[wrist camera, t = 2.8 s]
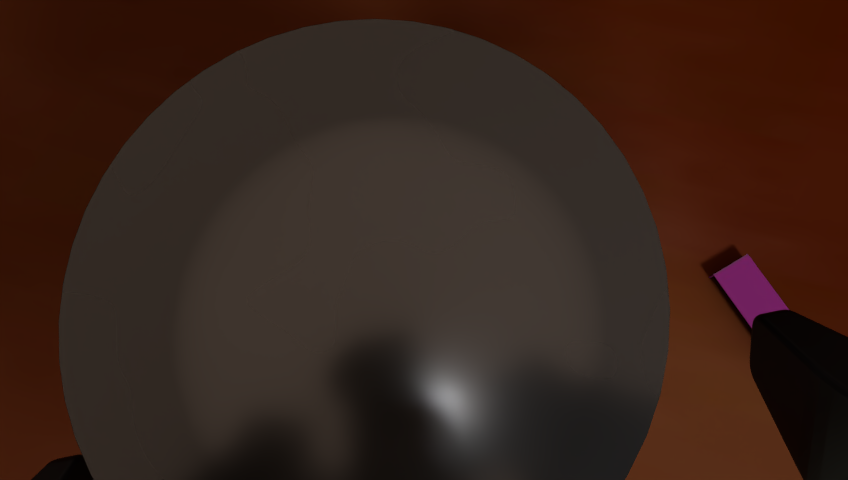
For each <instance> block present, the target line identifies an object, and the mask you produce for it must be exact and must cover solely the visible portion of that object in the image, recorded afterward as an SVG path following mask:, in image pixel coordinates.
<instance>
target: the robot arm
mask: <svg viewBox="0 0 848 480" xmlns="http://www.w3.org/2000/svg"><path fill="white" fill-rule="evenodd" d="M750 369H751V373H752V376H753V379H754V381H755V383H756V385H757V387H758V389H759V391H760V393H761V395H762V397H763V399H764V401H765V403H766V405H767V407H768V409H769V411H770V413H771V415H772V418H773V420H774V422H775V424H776V426H777V428H778V430H779V432H780V434H781V436H782V438H783V440H784V442H785V444H786V446H787V448H788V450H789V452H790V454H791V456H792V458H793V460H794V462H795V464H796V466H797V468H798V470H799V472H800V474H801V476H802V478H803V480H848V337H846V336H844V335H842V334H840V333H838V332H836V331H834V330H832V329H829V328H827V327H825V326H823V325H821V324H819V323H817V322H815V321H813V320H810V319H808V318H806V317H804V316H802V315H800V314H798V313H796V312H793V311H791V310H778V311H773V312H768V313H763V314H759V315H757V316H756V317H755V318H754V320H753V324H752V334H751V349H750ZM31 480H94V479H93V477H92V476H91V474H90V471H89V469H88V467H87V464H86V462H85V460H84V457H83V455H73V456H69V457H64V458H59V459H56V460H53V461H51V462H49V463H48V464H47V465H46V466H45V467H44V468H43V469H42V470H41V471H40V472H39V473H38V474H37V475H36V476H35V477H33V478H32V479H31Z"/></svg>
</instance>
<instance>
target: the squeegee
mask: <svg viewBox="0 0 848 480" xmlns="http://www.w3.org/2000/svg"><path fill="white" fill-rule="evenodd" d="M713 276H714V277H715V278H716V280H717V281H718V282H719V284H720V285H721V287H722V288H723V289H724V291H725V292H726V294H727V295H728V296H729V298H730V299H731V301H732V302H733V303H734V305H735V306H736V307H737V309H738V310H739V312H740V313H741V314H742V316H743V317H744V319H745V320H746V321H747V323H748V324H749V326H750V327H751V328H752V324H753V320H754V318H755V317H756V316H757V315H759V314H763V313H768V312H773V311H778V310H789V309H788V308H787V306H786V305H785V304H784V302H783V301H782V300H781V298H780V297H779V296H778V294H777V293H776V292H775V290H774V289H773V288H772V286H771V285H770V283H769V282H768V281H767V279H766V278H765V277H764V275H763V274H762V273H761V271H760V270H759V269H758V267H757V266H756V265H755V263H754V262H753V261H752V259H751V258H750V256H749V255H748V254H747V255H745V256H743V257H742V258H740V259H738V260H737V261H735V262H733V263H732V264H730V265H728V266H727V267H725V268H723V269H722V270H720V271H718V272H717V273H715V274H713V275H712V276H710V277H709V278H711V277H713Z"/></svg>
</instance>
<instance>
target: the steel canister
mask: <svg viewBox="0 0 848 480" xmlns="http://www.w3.org/2000/svg"><path fill="white" fill-rule="evenodd" d="M669 317H670V306H669V295H668V284H667V273H666V266H665V261H664V257H663V253H662V248H661V244H660V240H659V235H658V231H657V227H656V225H655V222H654V219H653V217H652V214H651V211H650V209H649V206H648V203H647V201H646V198H645V195H644V193H643V190H642V189H641V187H640V185H639V183H638V181H637V179H636V177H635V176H634V174H633V172H632V170H631V168H630V166H629V164H628V163H627V161H626V159H625V157H624V155H623V154H622V153H621V151H620V150H619V148H618V147H617V146H616V144H615V143H614V142H613V140H612V139H611V137H610V136H609V135H608V133H607V132H606V130H605V129H604V128H603V126H602V125H601V124H600V123H599V122H598V121H597V120H596V119H595V118H594V117H593V115H592V114H591V113H590V112H589V111H588V110H587V109H586V108H585V107H584V106H583V105H582V104H581V103H580V102H579V101H578V100H577V98H576V97H574V96H573V95H572V94H571V93H569V92H568V91H567V90H566V89H565V88H563V87H562V86H561V85H560V84H558V83H557V82H556V81H555V80H554V79H552V78H551V77H550V76H549V75H547V74H546V73H544V72H543V71H541V70H540V69H538V68H536V67H535V66H533V65H532V64H530V63H528V62H527V61H525V60H524V59H522V58H520V57H519V56H517V55H516V54H514V53H511V52H509V51H507V50H505V49H503V48H501V47H498V46H496V45H494V44H492V43H490V42H488V41H485V40H483V39H481V38H477V37H474V36H471V35H468V34H465V33H462V32H459V31H455V30H452V29H449V28H445V27H440V26H434V25H429V24H424V23H418V22H413V21H400V20H384V19H366V20H348V21H337V22H331V23H325V24H319V25H314V26H308V27H303V28H300V29H296V30H293V31H290V32H286V33H283V34H280V35H276V36H273V37H269V38H267V39H265V40H262V41H260V42H258V43H255V44H253V45H251V46H248V47H246V48H244V49H241V50H239V51H237V52H235V53H233V54H231V55H230V56H228V57H226V58H224V59H223V60H221V61H219V62H217V63H216V64H214V65H212V66H210V67H209V68H207V69H205V70H204V71H202V72H201V73H200V74H198V75H197V76H196V77H194V78H193V79H191V80H190V81H189V82H187V83H186V84H185V85H183V86H182V87H181V88H179V89H178V90H177V91H175V92H174V93H173V94H172V95H171V96H170V97H169V98H168V99H166V100H165V101H164V102H163V103H162V104H161V105H160V106H159V107H158V108H157V109H156V110H155V111H154V112H153V113H151V114H150V115H149V116H148V117H147V118H146V120H145V121H144V122H143V123H142V124H141V125H140V127H139V128H138V129H137V130H136V131H135V132H134V134H133V135H132V136H131V137H130V138H129V140H128V141H127V142H126V143H125V144H124V145H123V147H122V148H121V150H120V151H119V153H118V154H117V156H116V157H115V159H114V160H113V162H112V163H111V165H110V166H109V168H108V169H107V171H106V172H105V174H104V175H103V177H102V179H101V181H100V183H99V185H98V187H97V189H96V190H95V192H94V194H93V196H92V198H91V200H90V202H89V204H88V206H87V208H86V210H85V213H84V215H83V218H82V221H81V223H80V226H79V229H78V231H77V234H76V237H75V240H74V242H73V245H72V249H71V253H70V257H69V261H68V265H67V270H66V274H65V278H64V282H63V290H62V298H61V307H60V316H59V362H60V369H61V376H62V384H63V391H64V398H65V402H66V406H67V410H68V413H69V417H70V420H71V424H72V428H73V431H74V435H75V438H76V441H77V443H78V446H79V448H80V450H81V453H82V455H83V457H84V460H85V462H86V464H87V467H88V469H89V471H90V474H91V476H92V477H93V479H94V480H625V478H626V477H627V475H628V473H629V471H630V469H631V467H632V465H633V463H634V461H635V459H636V457H637V454H638V452H639V450H640V448H641V446H642V444H643V442H644V440H645V438H646V436H647V433H648V430H649V427H650V424H651V421H652V418H653V415H654V412H655V409H656V406H657V403H658V400H659V396H660V393H661V388H662V382H663V377H664V371H665V365H666V360H667V354H668V341H669Z"/></svg>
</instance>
